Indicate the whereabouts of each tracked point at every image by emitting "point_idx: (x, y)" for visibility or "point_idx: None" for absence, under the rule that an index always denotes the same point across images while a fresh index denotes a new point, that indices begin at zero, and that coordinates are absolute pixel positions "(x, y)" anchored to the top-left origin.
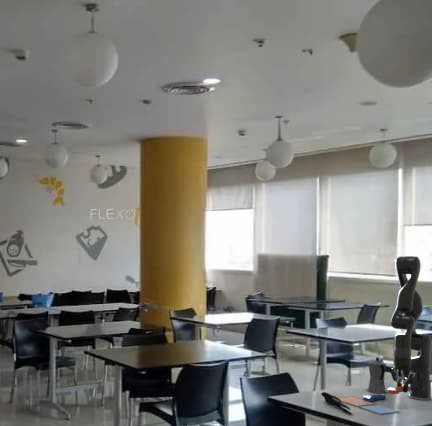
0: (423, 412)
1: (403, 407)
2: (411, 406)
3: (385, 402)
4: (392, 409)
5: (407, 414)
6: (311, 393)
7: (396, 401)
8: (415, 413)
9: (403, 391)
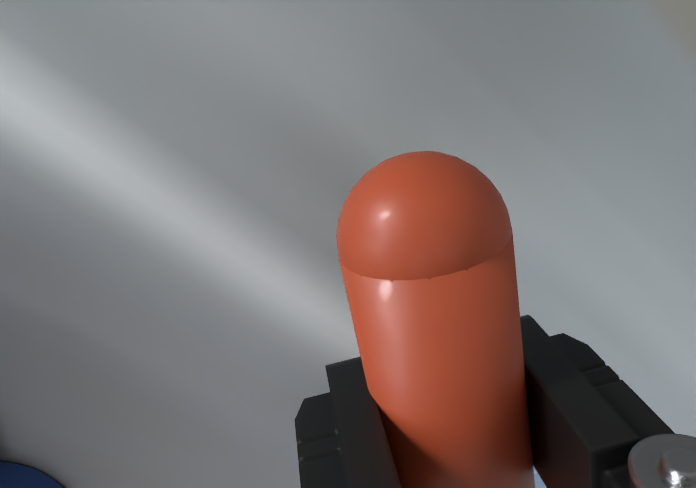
0: (690, 125)
1: None
2: (361, 60)
3: (96, 343)
4: None
5: (687, 405)
6: None
7: (2, 101)
8: (688, 280)
9: None
